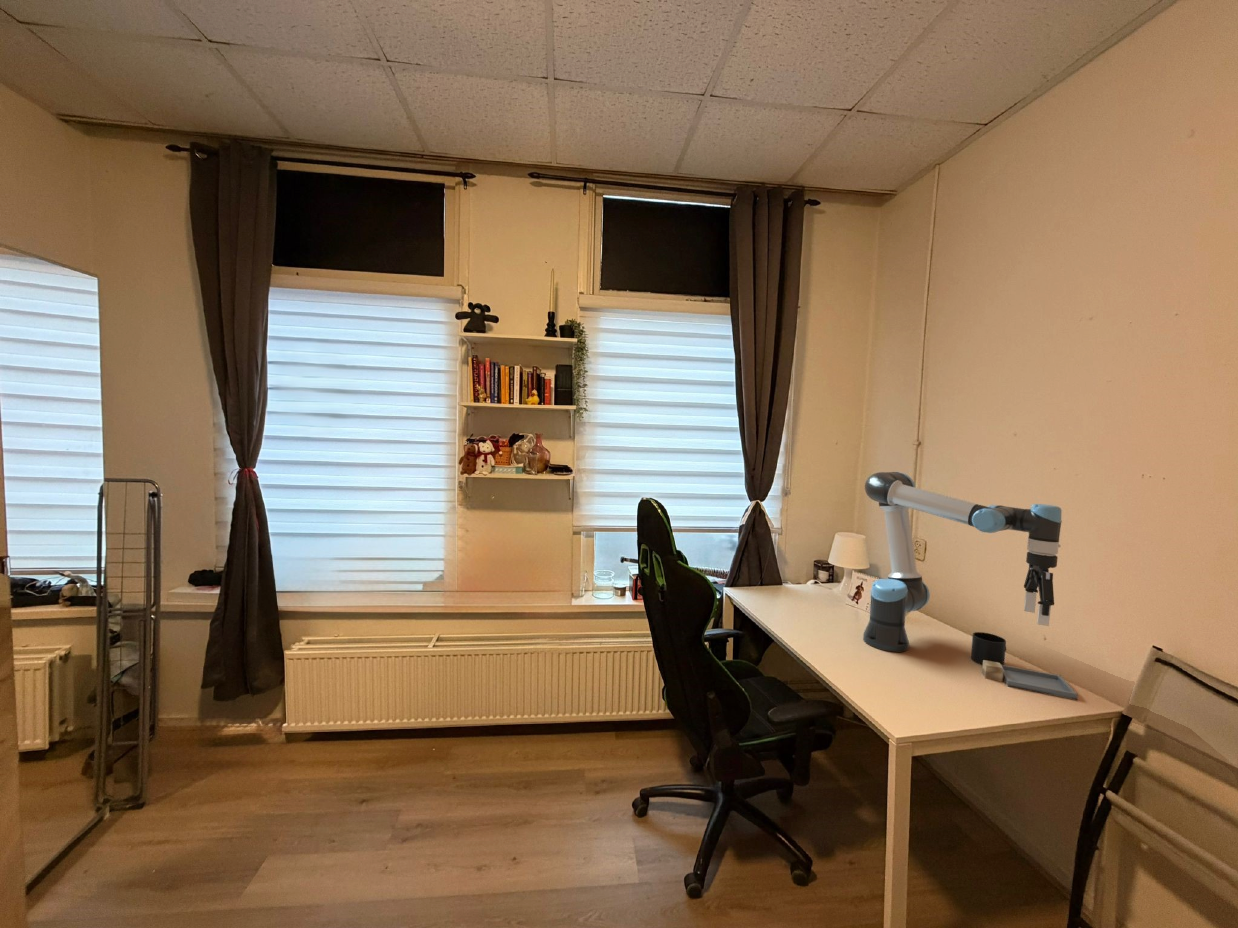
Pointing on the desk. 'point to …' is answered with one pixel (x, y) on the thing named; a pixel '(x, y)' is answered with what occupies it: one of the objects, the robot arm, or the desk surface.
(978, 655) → the mug
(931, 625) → the desk surface
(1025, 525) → the robot arm
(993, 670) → the oak block
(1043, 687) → the tray
